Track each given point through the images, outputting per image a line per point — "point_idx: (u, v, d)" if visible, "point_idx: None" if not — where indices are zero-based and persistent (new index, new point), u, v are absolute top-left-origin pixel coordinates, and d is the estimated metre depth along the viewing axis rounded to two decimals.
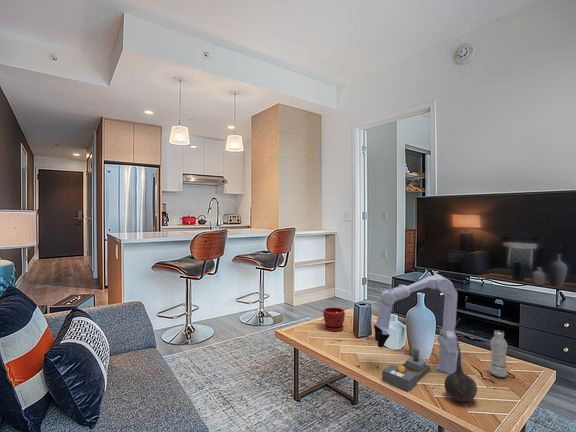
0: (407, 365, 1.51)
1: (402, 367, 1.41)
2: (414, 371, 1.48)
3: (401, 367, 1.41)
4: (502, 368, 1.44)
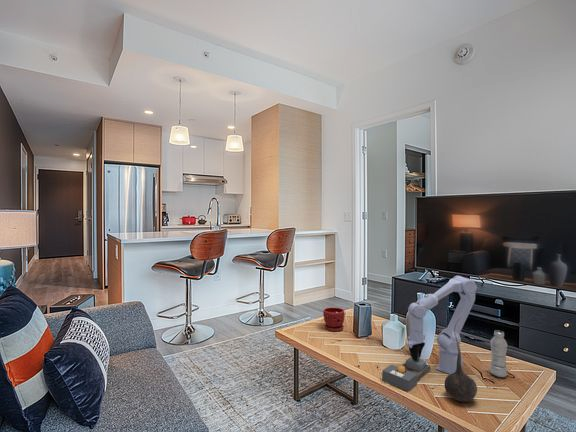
0: (407, 365, 1.51)
1: (402, 367, 1.41)
2: (414, 371, 1.48)
3: (401, 367, 1.41)
4: (502, 368, 1.44)
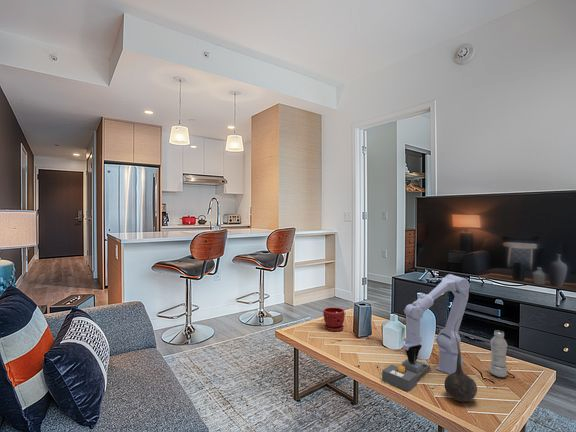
0: None
1: (402, 367, 1.41)
2: None
3: (401, 367, 1.41)
4: (502, 368, 1.44)
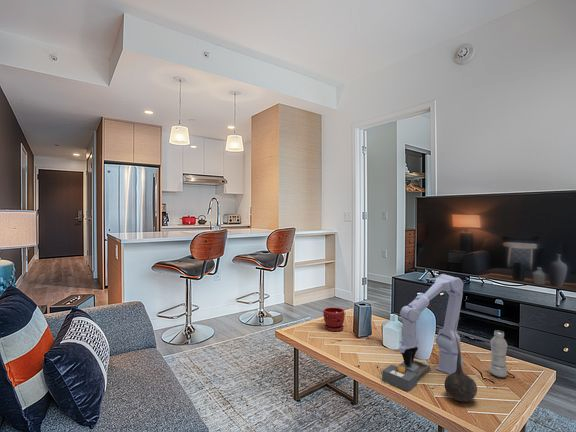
0: None
1: (402, 367, 1.41)
2: None
3: (401, 367, 1.41)
4: (502, 368, 1.44)
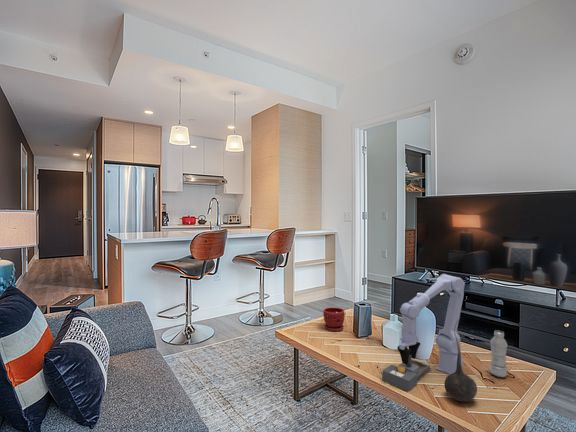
0: None
1: (402, 367, 1.41)
2: None
3: (401, 367, 1.41)
4: (502, 368, 1.44)
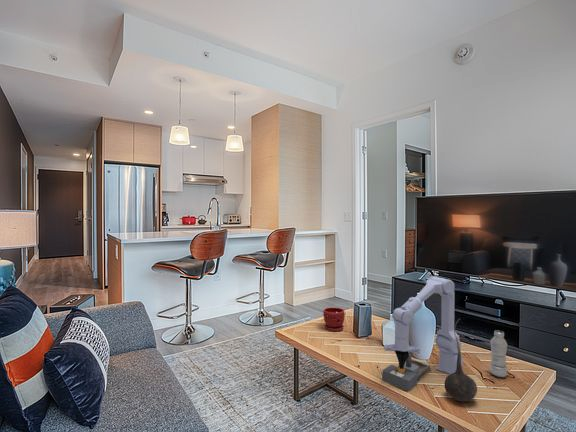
0: None
1: None
2: None
3: None
4: (502, 368, 1.44)
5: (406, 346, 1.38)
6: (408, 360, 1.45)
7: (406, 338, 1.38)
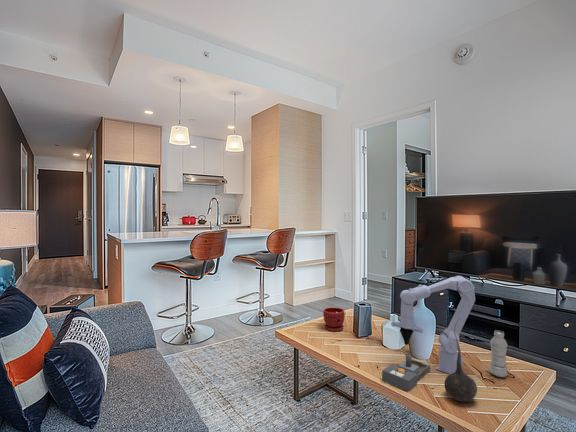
0: None
1: (402, 370, 1.41)
2: None
3: (401, 370, 1.41)
4: (502, 368, 1.44)
5: (408, 324, 1.53)
6: (408, 360, 1.45)
7: (407, 317, 1.53)
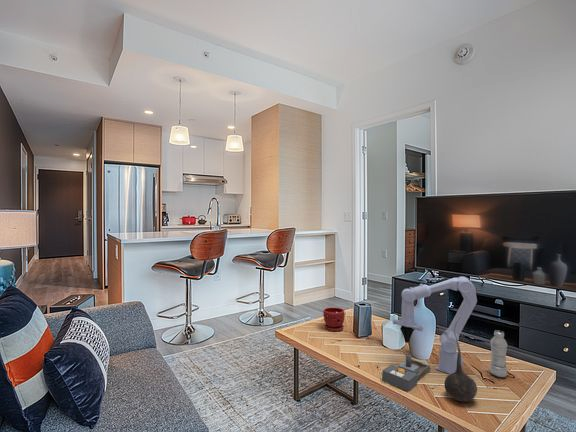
0: None
1: (402, 370, 1.41)
2: None
3: (401, 370, 1.41)
4: (502, 368, 1.44)
5: (408, 322, 1.55)
6: (408, 360, 1.45)
7: (407, 315, 1.55)
